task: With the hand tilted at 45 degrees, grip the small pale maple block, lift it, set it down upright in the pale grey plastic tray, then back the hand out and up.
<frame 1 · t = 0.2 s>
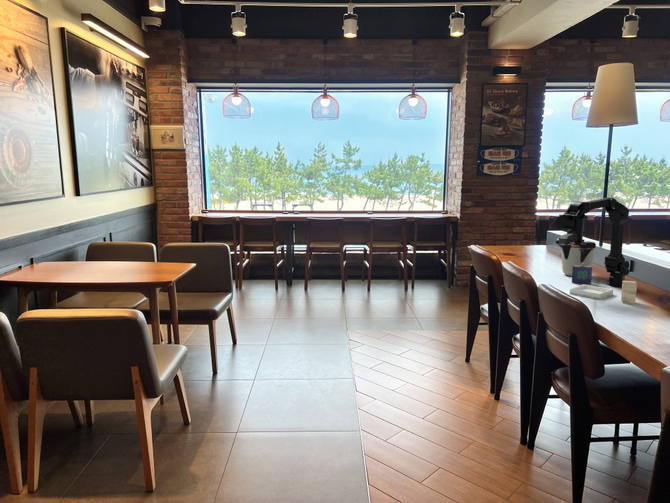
hand: (573, 261, 224), 15 cm above the table, tool pointing down, fingers open, 9 cm apart
tray: (591, 294, 219), on the table
maple block: (627, 302, 206), on the table
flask: (581, 283, 241), on the table
canister: (576, 275, 260), on the table
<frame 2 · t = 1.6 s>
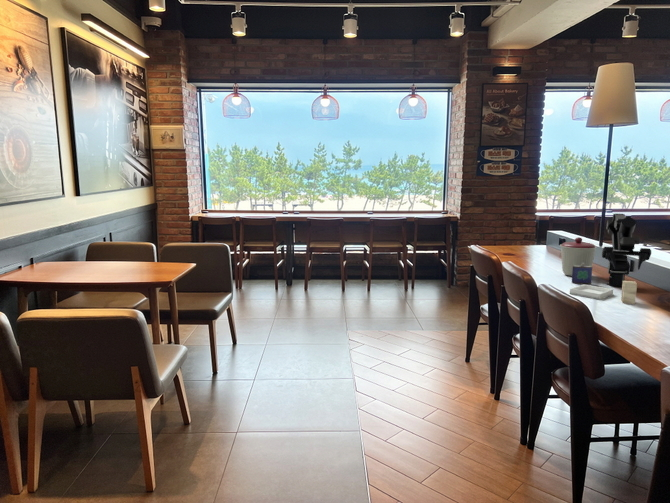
hand: (627, 268, 211), 13 cm above the table, tool tilted 45°, fingers open, 9 cm apart
nothing on the table moved.
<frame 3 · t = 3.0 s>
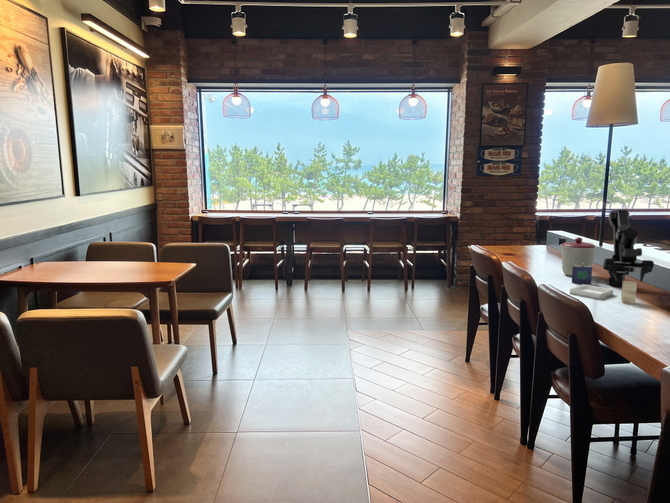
hand: (629, 280, 206), 9 cm above the table, tool tilted 45°, fingers open, 9 cm apart
nothing on the table moved.
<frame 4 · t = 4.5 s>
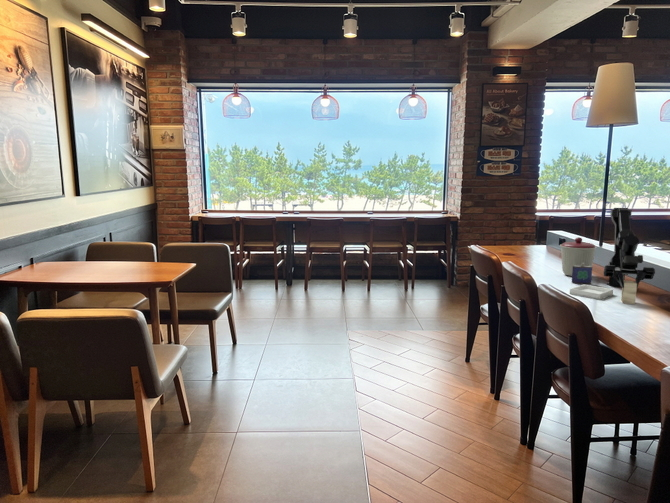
hand: (629, 288, 203), 7 cm above the table, tool tilted 45°, fingers closed on maple block, 5 cm apart
maple block: (628, 302, 206), on the table, touching gripper
everything else where it was.
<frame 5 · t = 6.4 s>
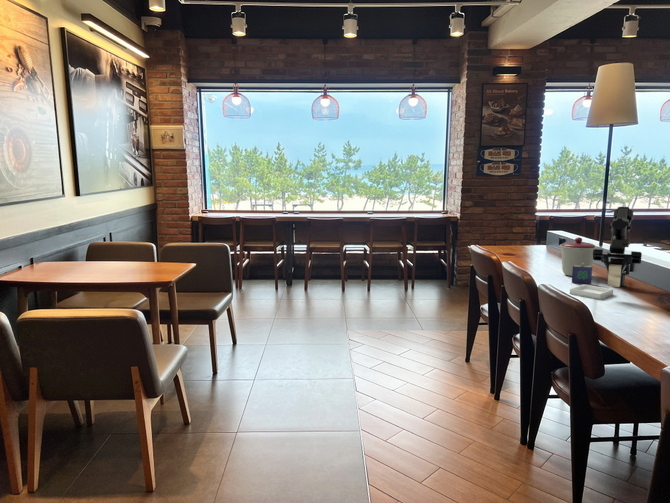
hand: (614, 271, 207), 13 cm above the table, tool tilted 45°, fingers closed on maple block, 5 cm apart
maple block: (613, 285, 209), point 6 cm above the table, touching gripper
everything else where it was.
when the fingers open (8 cm above the table, at t = 8.7 s): maple block drops 1 cm, resting on tray.
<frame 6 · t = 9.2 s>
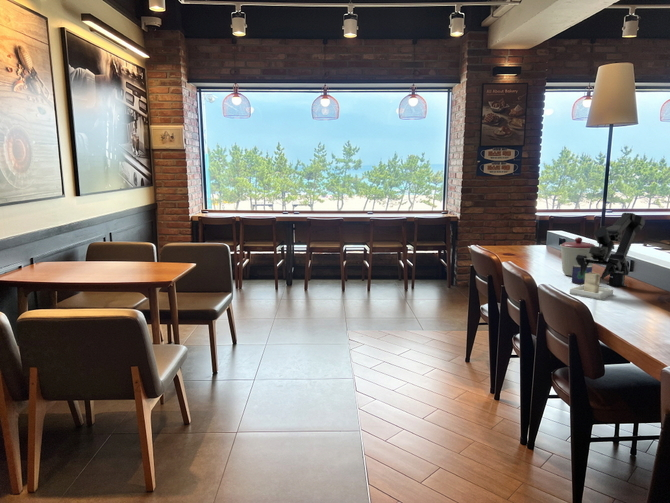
hand: (591, 276, 217), 9 cm above the table, tool tilted 45°, fingers open, 9 cm apart
maple block: (591, 292, 219), point 1 cm above the table, touching tray
everything else where it was.
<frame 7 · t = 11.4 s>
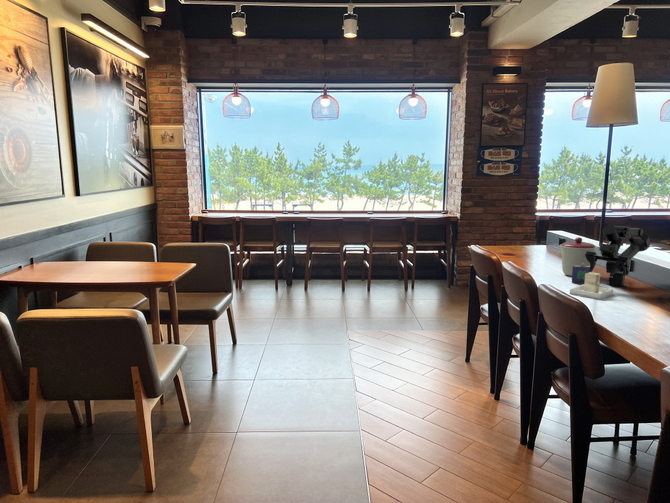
hand: (600, 273, 223), 9 cm above the table, tool tilted 45°, fingers open, 9 cm apart
nothing on the table moved.
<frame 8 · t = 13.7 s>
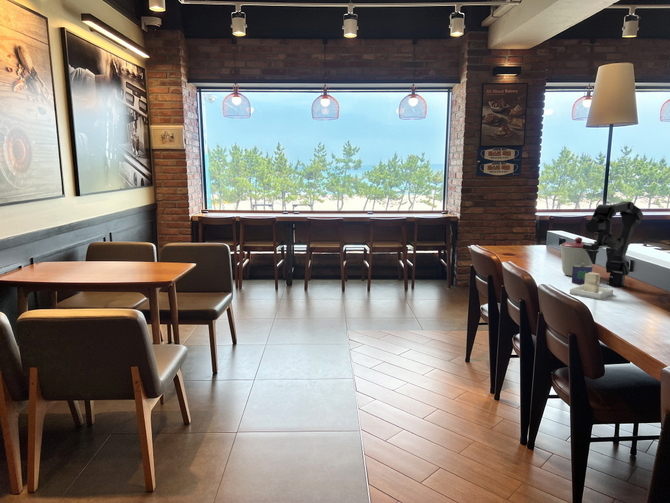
hand: (601, 263, 225), 13 cm above the table, tool pointing down, fingers open, 9 cm apart
nothing on the table moved.
at the end: maple block inside the target area on the tray (0.0 cm from its centre), point 0.8 cm above the tray's base; maple block tilted 0°; the gripper is holding nothing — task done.
